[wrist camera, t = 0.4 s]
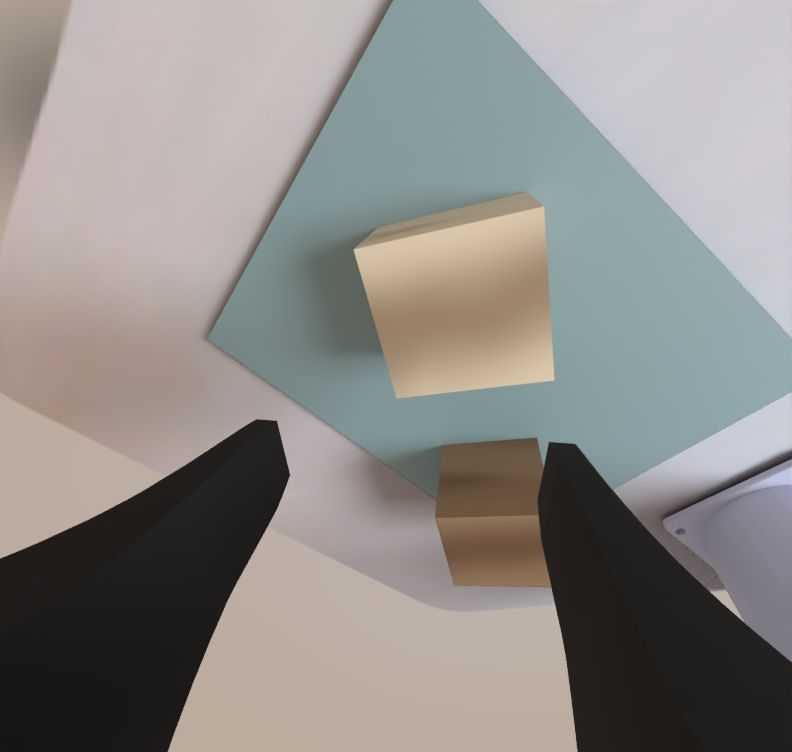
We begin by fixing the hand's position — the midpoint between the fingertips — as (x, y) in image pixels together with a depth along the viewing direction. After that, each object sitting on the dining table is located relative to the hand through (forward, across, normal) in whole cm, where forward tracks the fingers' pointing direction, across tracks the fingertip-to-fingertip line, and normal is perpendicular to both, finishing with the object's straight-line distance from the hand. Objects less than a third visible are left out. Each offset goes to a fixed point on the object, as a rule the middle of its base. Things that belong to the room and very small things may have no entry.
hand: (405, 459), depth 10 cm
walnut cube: (+9, -3, +9) cm, 13 cm away
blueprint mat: (+10, -2, +1) cm, 10 cm away
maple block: (+9, -1, -2) cm, 9 cm away
